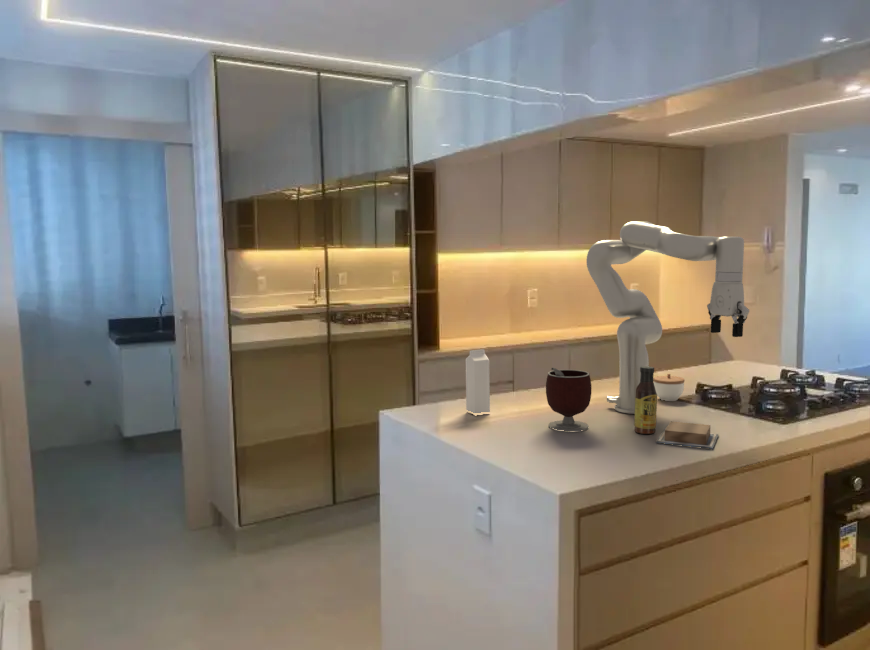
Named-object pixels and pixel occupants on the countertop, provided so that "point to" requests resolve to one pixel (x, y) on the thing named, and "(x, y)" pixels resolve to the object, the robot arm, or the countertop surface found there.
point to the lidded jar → (669, 387)
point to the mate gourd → (568, 397)
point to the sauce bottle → (645, 402)
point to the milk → (477, 382)
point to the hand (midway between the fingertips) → (726, 334)
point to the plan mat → (688, 435)
